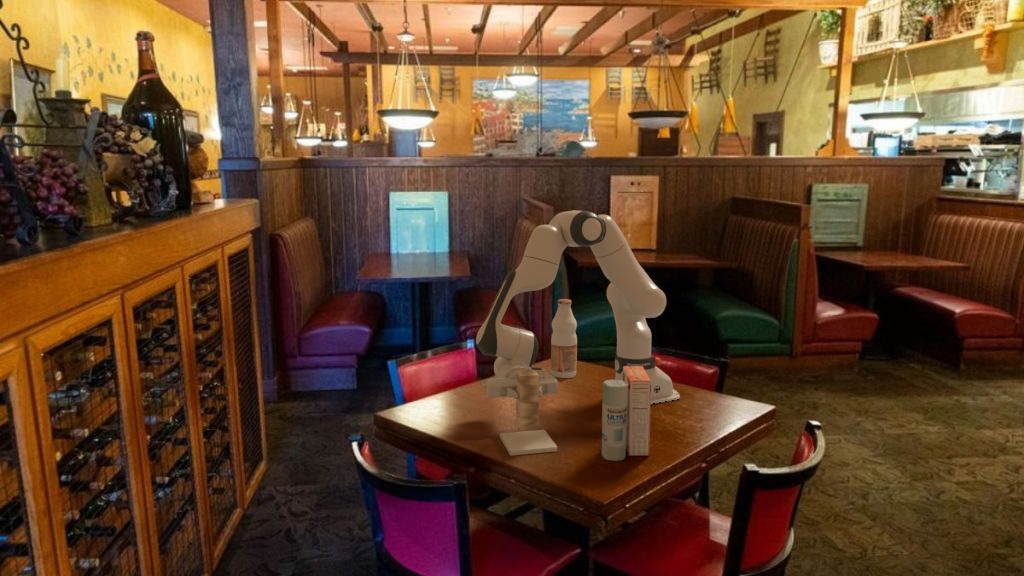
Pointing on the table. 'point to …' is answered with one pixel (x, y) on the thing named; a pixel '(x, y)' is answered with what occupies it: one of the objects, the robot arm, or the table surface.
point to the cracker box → (637, 410)
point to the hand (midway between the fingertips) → (528, 395)
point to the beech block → (527, 397)
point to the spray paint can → (614, 419)
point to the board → (528, 442)
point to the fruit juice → (564, 342)
